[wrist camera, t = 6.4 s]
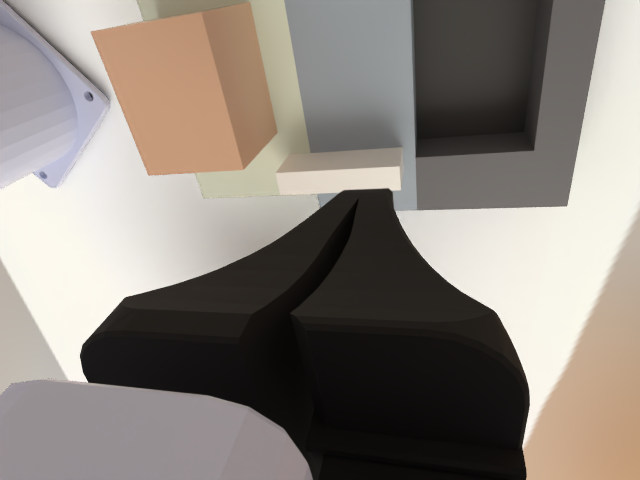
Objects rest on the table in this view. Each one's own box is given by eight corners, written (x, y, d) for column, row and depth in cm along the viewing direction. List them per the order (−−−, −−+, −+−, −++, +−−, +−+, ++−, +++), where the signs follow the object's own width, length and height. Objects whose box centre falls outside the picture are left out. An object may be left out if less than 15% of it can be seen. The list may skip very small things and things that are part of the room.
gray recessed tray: (331, 189, 22) (320, 212, 20) (281, -134, 15) (258, -150, 13) (552, 180, 19) (567, 206, 17) (616, -224, 12) (653, -261, 10)
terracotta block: (196, 139, 19) (148, 175, 16) (158, 18, 16) (90, 31, 13) (277, 132, 18) (243, 169, 15) (249, 2, 15) (201, 12, 12)
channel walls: (293, 175, 19) (280, 195, 17) (244, -65, 14) (220, -69, 13) (403, 169, 18) (400, 190, 16) (390, -98, 13) (385, -106, 11)
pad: (223, 177, 23) (203, 198, 21) (150, -67, 17) (113, -70, 15) (328, 171, 21) (317, 193, 19) (287, -99, 15) (265, -109, 13)
